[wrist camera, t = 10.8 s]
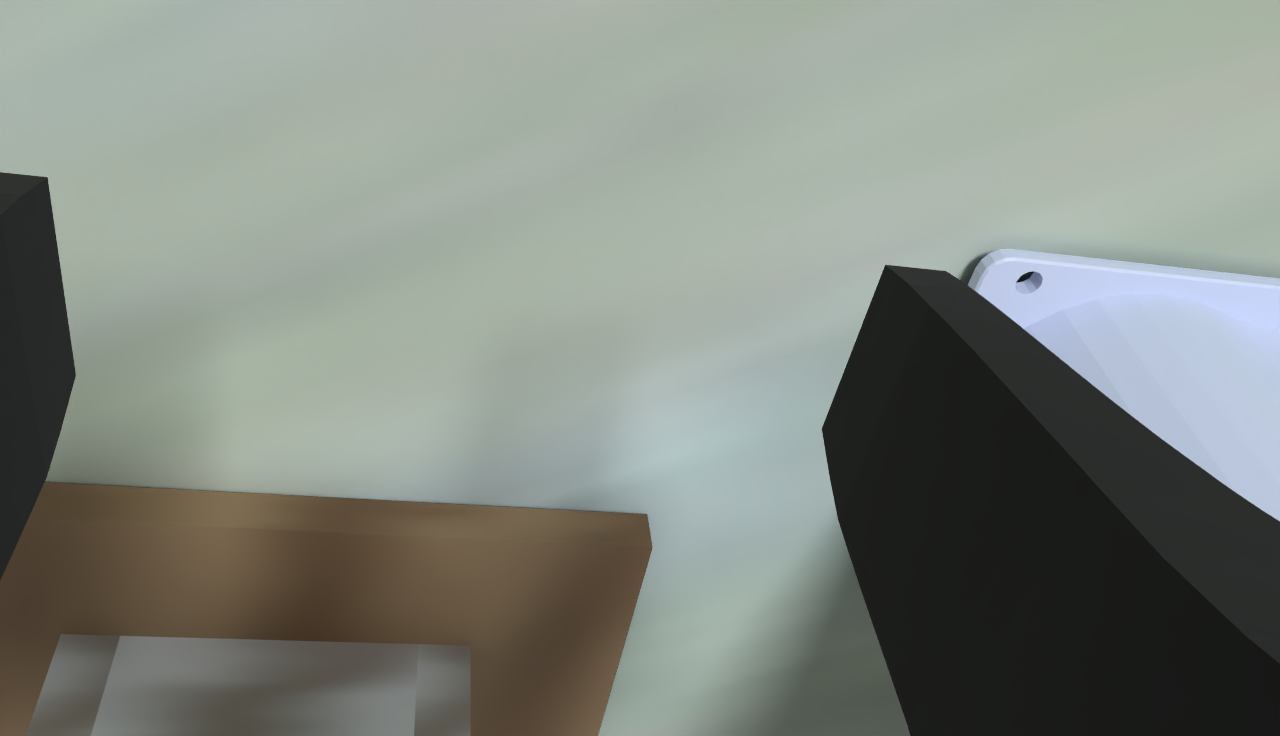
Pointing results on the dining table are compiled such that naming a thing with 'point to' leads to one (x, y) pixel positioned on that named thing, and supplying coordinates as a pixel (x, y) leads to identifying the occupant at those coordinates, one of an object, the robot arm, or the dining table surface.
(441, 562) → the sleeve holder
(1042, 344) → the robot arm
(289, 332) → the dining table surface
